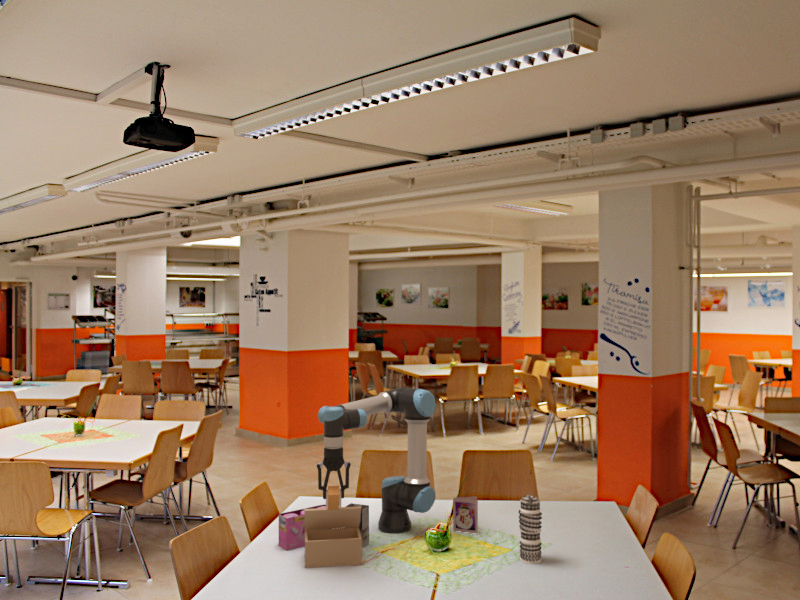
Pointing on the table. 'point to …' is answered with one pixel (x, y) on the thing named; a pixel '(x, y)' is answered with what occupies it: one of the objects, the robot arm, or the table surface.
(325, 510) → the lid flap
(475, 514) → the greeting card
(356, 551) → the cardboard carton
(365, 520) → the coffee box
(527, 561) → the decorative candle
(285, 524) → the gum box
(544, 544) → the table surface
